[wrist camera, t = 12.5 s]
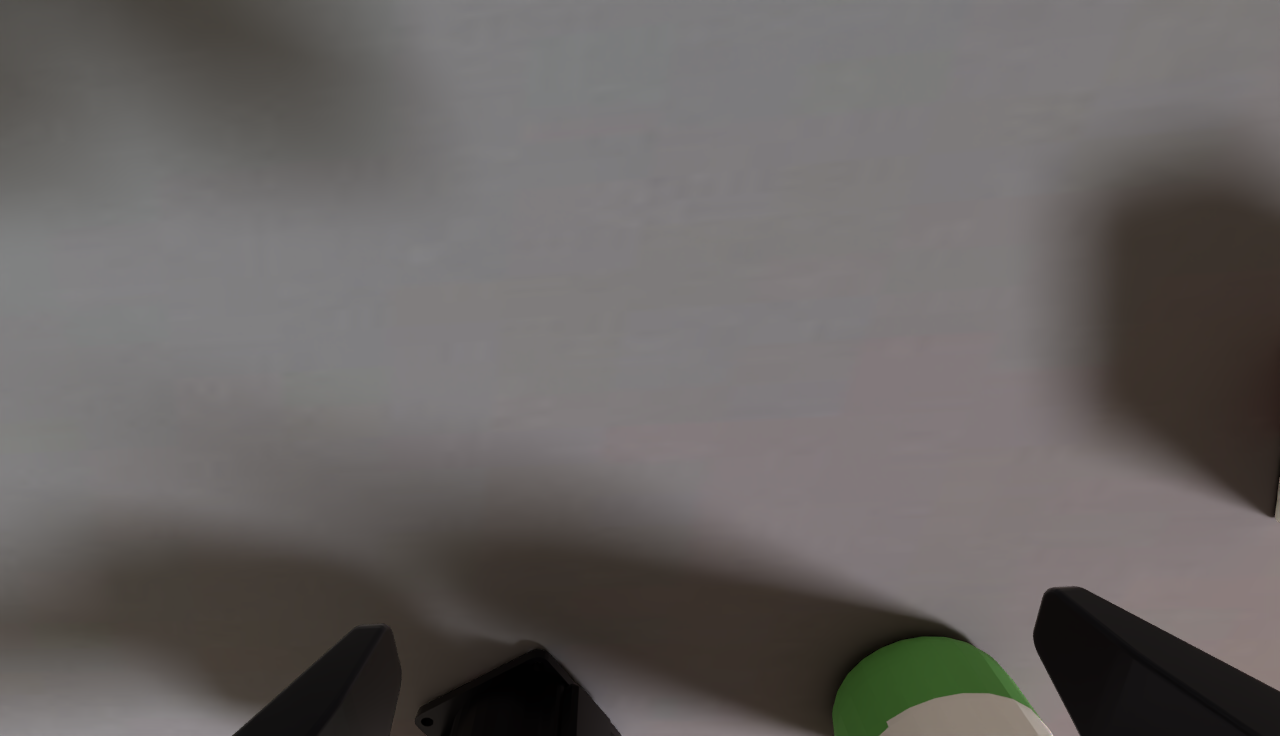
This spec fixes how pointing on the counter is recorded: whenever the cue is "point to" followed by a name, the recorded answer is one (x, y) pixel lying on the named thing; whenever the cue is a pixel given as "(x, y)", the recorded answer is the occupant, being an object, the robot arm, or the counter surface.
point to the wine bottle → (932, 694)
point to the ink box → (1278, 505)
